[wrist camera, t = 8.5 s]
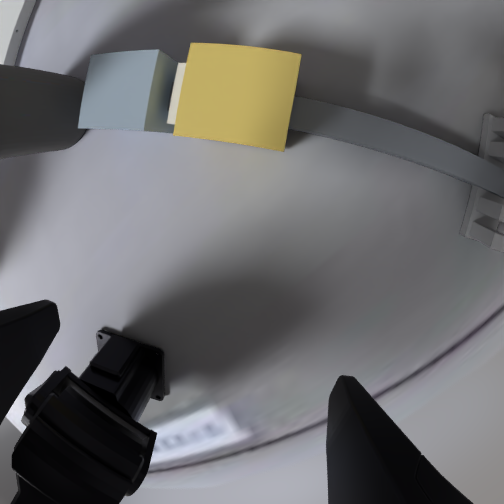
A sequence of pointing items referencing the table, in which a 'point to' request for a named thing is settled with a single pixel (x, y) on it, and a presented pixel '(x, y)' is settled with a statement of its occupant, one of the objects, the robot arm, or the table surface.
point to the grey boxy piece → (484, 202)
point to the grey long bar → (302, 119)
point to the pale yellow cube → (237, 94)
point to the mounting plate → (13, 27)
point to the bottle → (38, 111)
